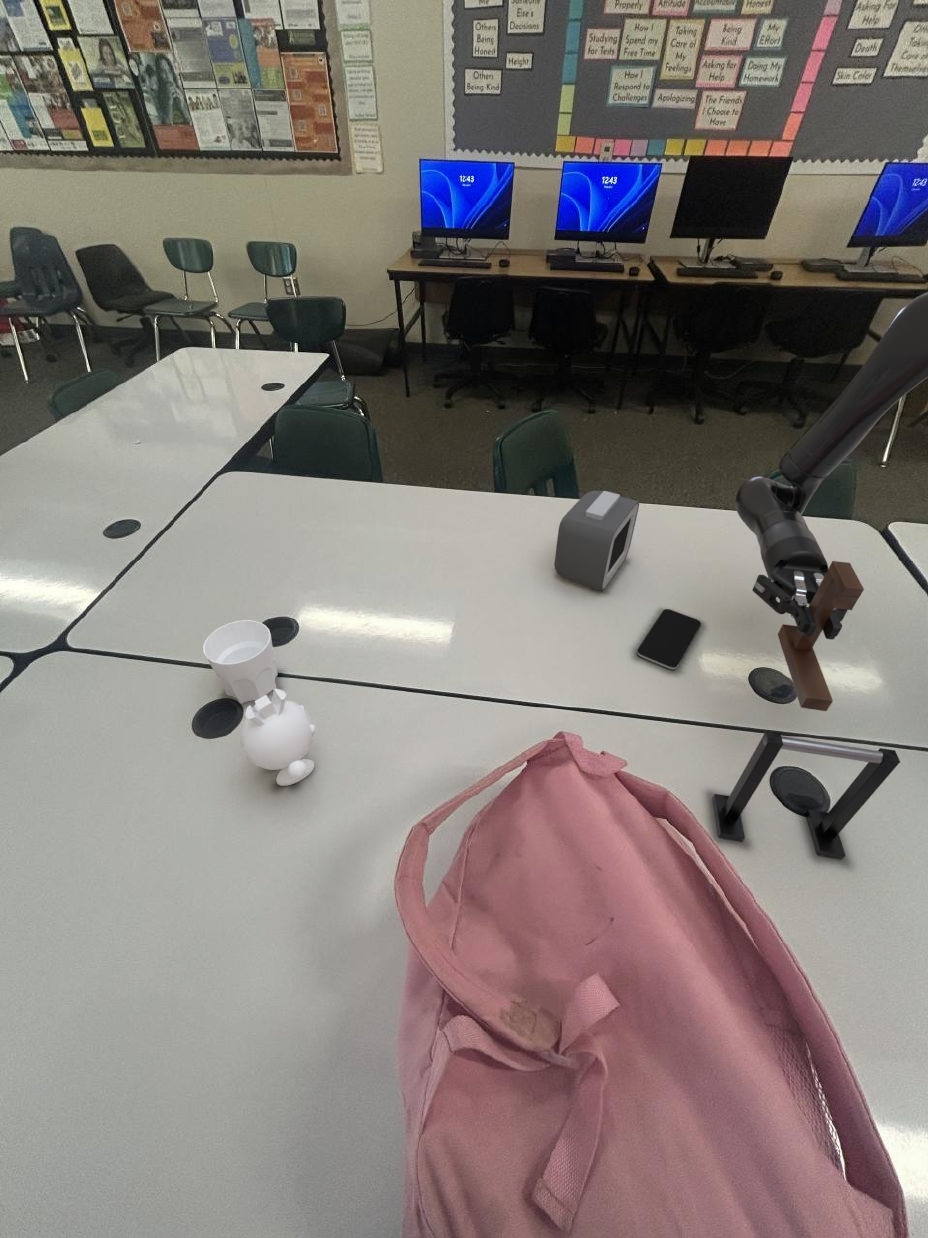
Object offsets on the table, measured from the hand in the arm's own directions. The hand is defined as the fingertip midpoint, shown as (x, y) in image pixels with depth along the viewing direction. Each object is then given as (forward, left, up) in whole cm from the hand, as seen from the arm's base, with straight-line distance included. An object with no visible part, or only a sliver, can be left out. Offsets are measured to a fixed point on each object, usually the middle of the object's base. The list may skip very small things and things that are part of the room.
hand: (822, 632), depth 71 cm
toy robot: (+68, +19, -22) cm, 74 cm away
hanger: (0, -1, -7) cm, 7 cm away
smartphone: (+12, -20, -22) cm, 32 cm away
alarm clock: (+27, -40, -22) cm, 53 cm away
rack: (+1, +15, -22) cm, 26 cm away
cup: (+81, +5, -22) cm, 84 cm away
